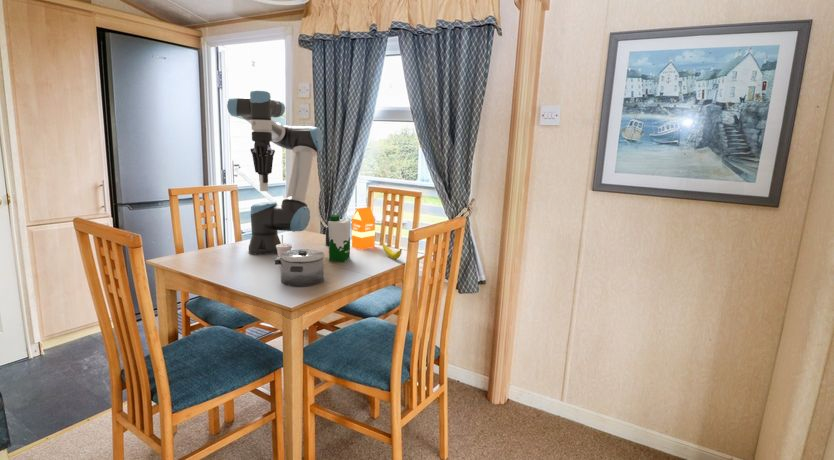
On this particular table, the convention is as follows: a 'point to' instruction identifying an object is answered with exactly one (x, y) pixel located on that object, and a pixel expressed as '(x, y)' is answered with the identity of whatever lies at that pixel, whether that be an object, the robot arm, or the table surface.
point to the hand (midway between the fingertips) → (264, 190)
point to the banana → (391, 252)
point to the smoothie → (283, 248)
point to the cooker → (301, 273)
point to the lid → (302, 256)
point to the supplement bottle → (327, 236)
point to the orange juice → (363, 228)
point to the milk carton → (339, 239)
